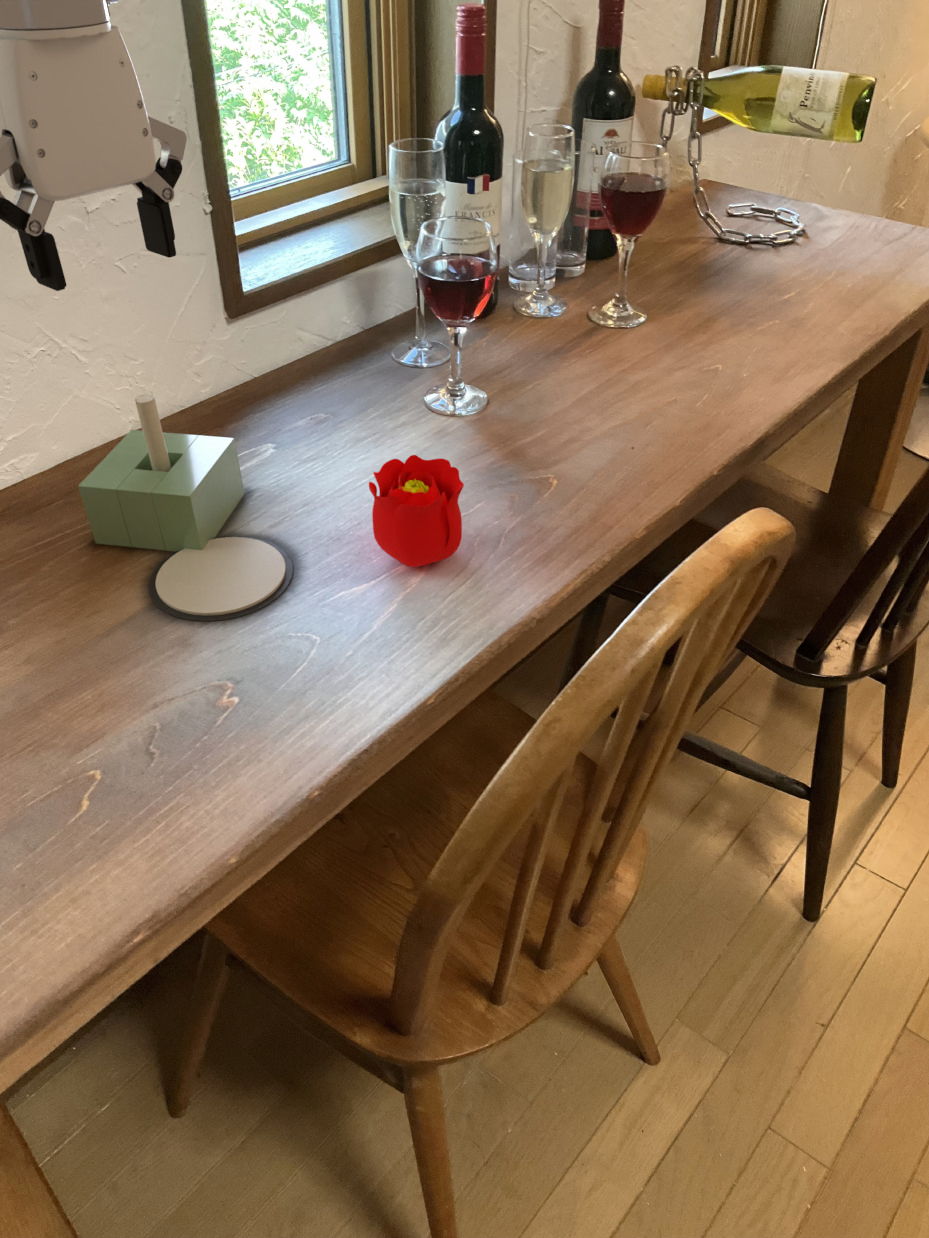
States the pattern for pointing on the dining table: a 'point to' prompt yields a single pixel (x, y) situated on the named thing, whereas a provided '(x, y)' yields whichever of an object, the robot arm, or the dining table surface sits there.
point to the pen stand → (163, 493)
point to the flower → (417, 510)
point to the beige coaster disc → (221, 579)
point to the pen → (153, 433)
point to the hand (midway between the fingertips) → (109, 269)
